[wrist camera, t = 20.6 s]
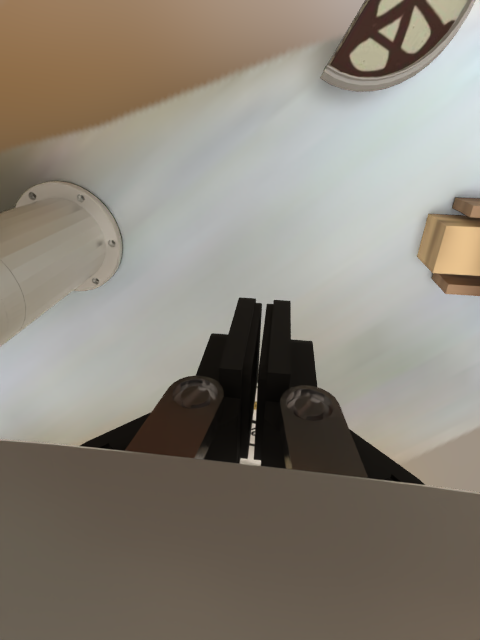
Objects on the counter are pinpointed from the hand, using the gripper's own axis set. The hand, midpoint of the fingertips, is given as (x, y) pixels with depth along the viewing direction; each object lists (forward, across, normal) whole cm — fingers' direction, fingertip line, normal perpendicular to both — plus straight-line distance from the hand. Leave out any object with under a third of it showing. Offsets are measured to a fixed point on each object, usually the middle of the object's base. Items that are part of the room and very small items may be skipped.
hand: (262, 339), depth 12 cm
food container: (+29, -8, -13) cm, 33 cm away
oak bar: (+29, -20, +4) cm, 36 cm away
